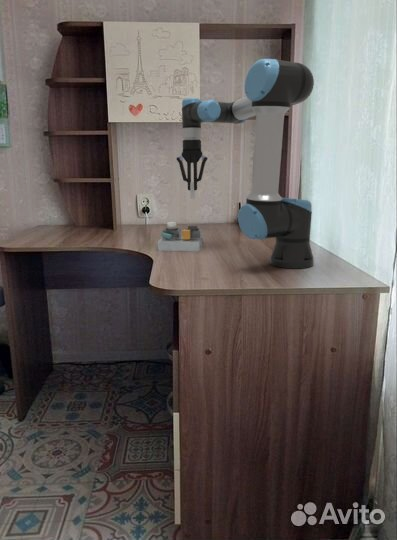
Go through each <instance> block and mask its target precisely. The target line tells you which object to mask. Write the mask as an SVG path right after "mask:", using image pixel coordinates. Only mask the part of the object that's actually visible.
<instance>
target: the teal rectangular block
mask: <svg viewBox="0 0 397 540" xmlns="http://www.w3.org/2000/svg"><path fill="white" fill-rule="evenodd" d="M160 236H161V237H160V238H162V237H166V238H170V239H171V237H172V235H171V234H166V233H161V235H160Z"/></svg>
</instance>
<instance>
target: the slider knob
mask: <svg viewBox="0 0 397 540" xmlns="http://www.w3.org/2000/svg"><path fill="white" fill-rule="evenodd" d="M181 235H182V239H190V238H191V230H185V229H182V230H181Z"/></svg>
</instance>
